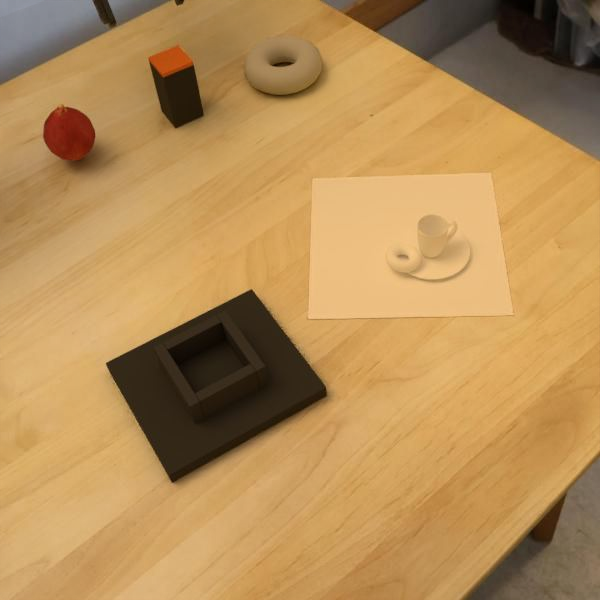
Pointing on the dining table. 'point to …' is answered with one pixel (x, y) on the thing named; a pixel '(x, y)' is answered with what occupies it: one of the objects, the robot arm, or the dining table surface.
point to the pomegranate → (68, 133)
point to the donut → (283, 77)
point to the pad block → (176, 86)
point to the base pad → (214, 383)
